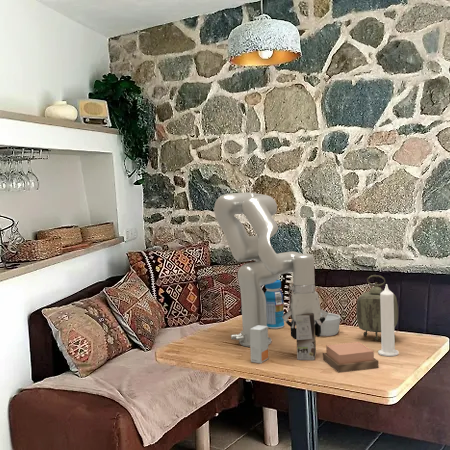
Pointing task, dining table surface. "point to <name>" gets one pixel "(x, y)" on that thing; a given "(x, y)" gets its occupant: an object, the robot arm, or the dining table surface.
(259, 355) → the skincare box
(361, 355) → the tower top block
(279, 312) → the beverage bottle
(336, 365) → the tower base block
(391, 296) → the candle
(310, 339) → the coffee box
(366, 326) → the tabletop clock
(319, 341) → the dining table surface
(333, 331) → the ramekin
